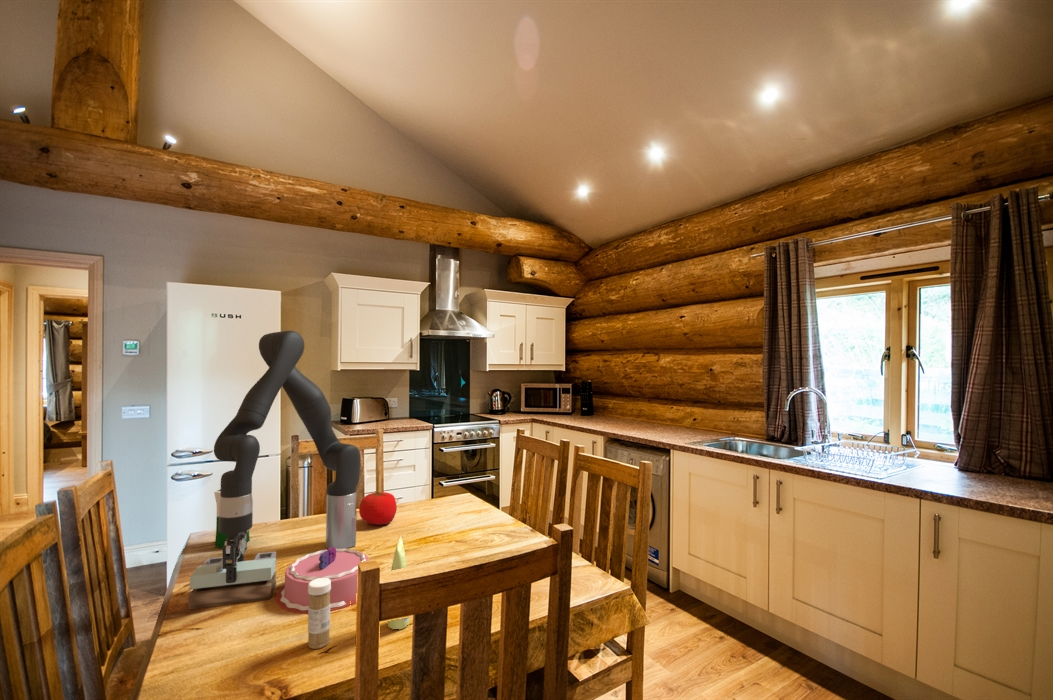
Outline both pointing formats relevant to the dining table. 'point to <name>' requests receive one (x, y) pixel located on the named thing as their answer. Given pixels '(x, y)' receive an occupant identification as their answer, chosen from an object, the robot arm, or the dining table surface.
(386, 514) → the tomato
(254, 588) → the carcass
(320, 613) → the sprinkles bottle
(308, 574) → the cake
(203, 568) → the door
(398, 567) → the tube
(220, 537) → the milk carton
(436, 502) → the dining table surface
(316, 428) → the robot arm
